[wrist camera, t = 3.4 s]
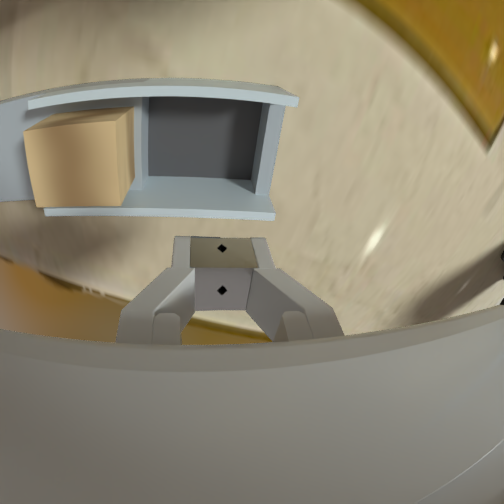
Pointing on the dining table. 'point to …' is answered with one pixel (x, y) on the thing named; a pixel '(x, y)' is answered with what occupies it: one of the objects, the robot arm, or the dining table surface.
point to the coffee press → (503, 277)
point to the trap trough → (167, 144)
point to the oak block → (82, 157)
